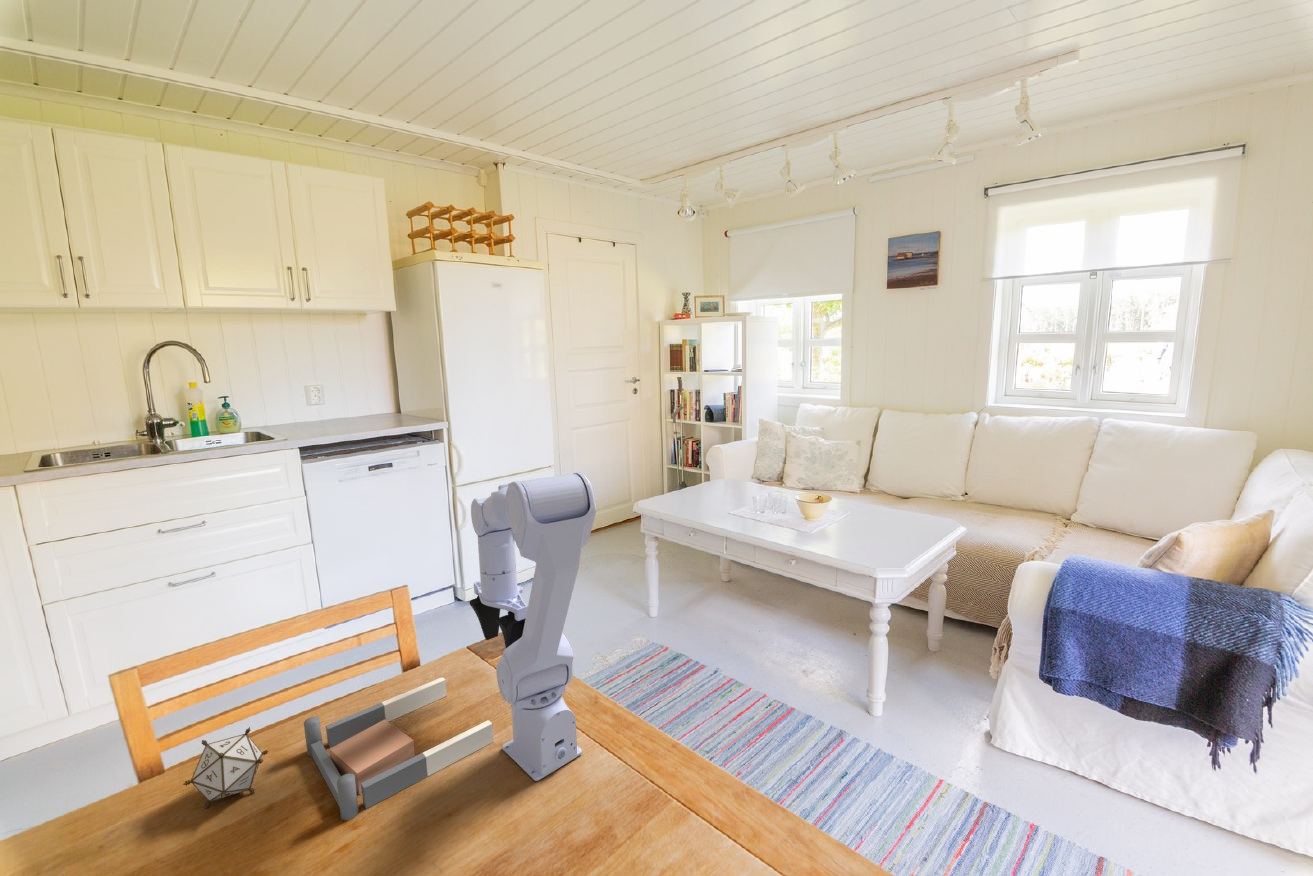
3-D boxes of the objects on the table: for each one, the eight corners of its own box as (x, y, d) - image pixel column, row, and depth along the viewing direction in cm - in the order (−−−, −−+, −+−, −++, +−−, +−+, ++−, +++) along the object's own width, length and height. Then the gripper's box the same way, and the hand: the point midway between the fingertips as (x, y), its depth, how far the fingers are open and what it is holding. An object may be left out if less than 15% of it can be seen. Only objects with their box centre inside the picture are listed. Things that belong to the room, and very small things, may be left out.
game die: (241, 825, 76) (225, 803, 70) (179, 804, 76) (157, 781, 70) (287, 755, 83) (276, 729, 77) (230, 736, 83) (215, 708, 76)
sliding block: (415, 762, 83) (413, 740, 82) (359, 796, 77) (357, 773, 76) (386, 740, 88) (384, 719, 87) (332, 771, 81) (329, 749, 81)
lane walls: (493, 741, 86) (492, 723, 86) (427, 776, 80) (425, 757, 79) (443, 693, 99) (442, 677, 98) (383, 719, 92) (381, 702, 91)
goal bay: (428, 778, 79) (426, 745, 78) (343, 823, 72) (339, 787, 71) (382, 718, 92) (379, 690, 91) (305, 751, 85) (302, 721, 84)
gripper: (543, 573, 91) (547, 652, 93) (498, 551, 102) (502, 623, 104) (503, 586, 86) (508, 670, 89) (460, 561, 97) (465, 636, 99)
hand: (502, 645), depth 96 cm, fingers open, 7 cm apart
